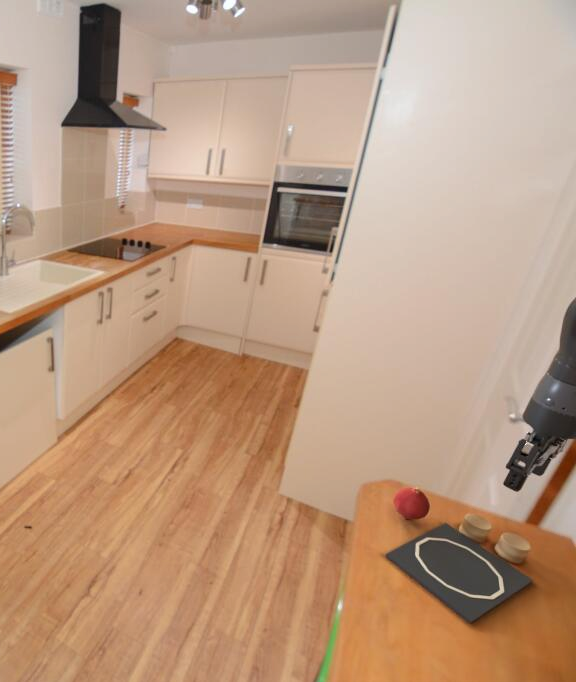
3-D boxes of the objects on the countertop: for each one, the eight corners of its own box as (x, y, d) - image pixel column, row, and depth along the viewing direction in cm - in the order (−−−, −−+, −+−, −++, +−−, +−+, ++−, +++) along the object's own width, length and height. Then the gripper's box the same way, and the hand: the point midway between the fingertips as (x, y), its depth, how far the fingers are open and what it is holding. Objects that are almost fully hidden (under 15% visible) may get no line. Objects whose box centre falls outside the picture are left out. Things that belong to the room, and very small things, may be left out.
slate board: (531, 583, 80) (533, 579, 80) (470, 624, 73) (472, 620, 73) (444, 525, 92) (446, 522, 91) (385, 556, 85) (386, 553, 85)
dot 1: (489, 538, 89) (496, 525, 87) (477, 545, 87) (484, 532, 86) (466, 523, 92) (472, 510, 90) (454, 530, 90) (460, 517, 89)
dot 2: (527, 559, 84) (535, 545, 83) (515, 566, 83) (523, 553, 81) (501, 542, 88) (509, 529, 86) (489, 549, 86) (497, 536, 85)
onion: (392, 502, 97) (404, 473, 94) (425, 517, 93) (439, 487, 90) (385, 517, 93) (397, 487, 90) (419, 533, 90) (433, 503, 86)
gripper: (577, 427, 68) (531, 508, 75) (614, 402, 74) (568, 480, 81) (514, 402, 74) (476, 480, 81) (553, 382, 80) (515, 455, 87)
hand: (522, 480), depth 81 cm, fingers open, 8 cm apart
